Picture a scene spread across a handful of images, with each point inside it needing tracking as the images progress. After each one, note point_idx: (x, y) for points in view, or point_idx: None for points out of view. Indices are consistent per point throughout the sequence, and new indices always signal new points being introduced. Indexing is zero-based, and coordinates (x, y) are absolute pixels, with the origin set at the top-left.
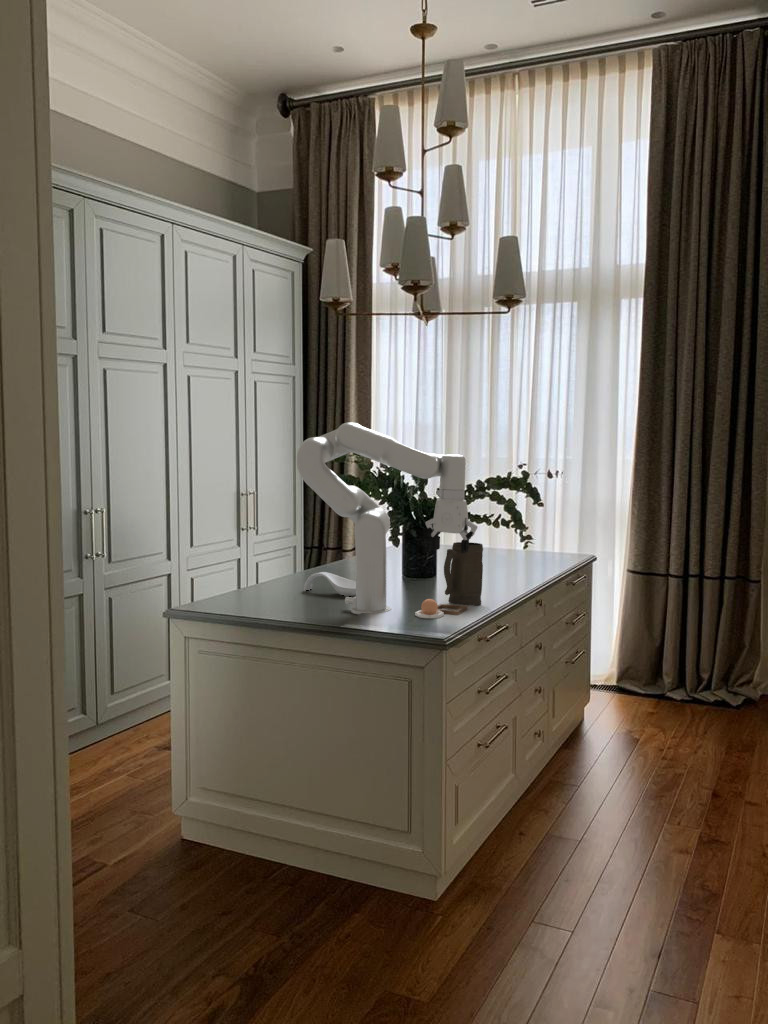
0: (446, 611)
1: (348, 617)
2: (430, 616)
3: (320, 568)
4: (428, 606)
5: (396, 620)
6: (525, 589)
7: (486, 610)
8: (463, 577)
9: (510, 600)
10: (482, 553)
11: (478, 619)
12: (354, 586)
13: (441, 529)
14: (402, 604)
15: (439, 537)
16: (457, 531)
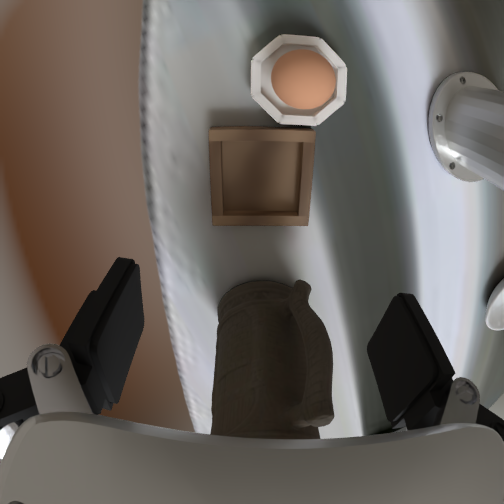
0: (252, 128)
1: (492, 54)
2: (278, 36)
3: (497, 399)
4: (298, 49)
5: (382, 30)
6: (203, 429)
7: (177, 263)
8: (257, 344)
9: (181, 368)
10: None
11: (146, 138)
12: (501, 318)
13: (413, 463)
14: (416, 247)
15: (392, 415)
16: (68, 433)
